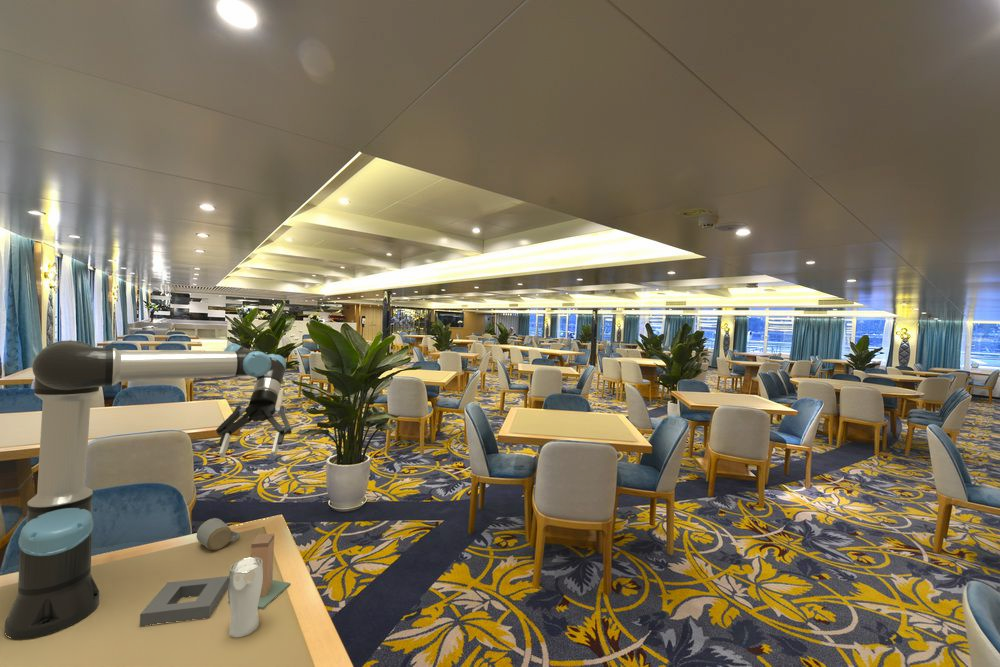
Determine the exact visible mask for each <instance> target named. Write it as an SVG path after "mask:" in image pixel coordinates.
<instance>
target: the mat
mask: <svg viewBox="0 0 1000 667" xmlns="http://www.w3.org/2000/svg"><path fill="white" fill-rule="evenodd" d="M290 586H291V582H287V581H280V580H275V579H272V586H271V588H270V590H269V592H268V594H267V596H266V597H260V599H259V603H258V610H264V609H266V608H267V607H268V606H269V605H270V604H271V603H272V602H273V601H274V600H275V599H274V598H275V597H276V596H278V595H279V594H280V593H281V594H282V593H283V592H284V591H286V590H287V589H288V588H289V587H290ZM285 589H286V590H285ZM281 594H280V595H281ZM280 595H279V596H280ZM279 596H278V597H279ZM273 599H274V600H273ZM272 600H273V601H272ZM271 601H272V602H271ZM270 602H271V603H270ZM269 603H270V604H269ZM228 604H229V601H228ZM268 604H269V605H268ZM267 605H268V606H267ZM266 606H267V607H266ZM265 607H266V608H265Z"/></svg>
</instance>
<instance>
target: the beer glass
mask: <svg viewBox="0 0 1000 667" xmlns="http://www.w3.org/2000/svg"><path fill="white" fill-rule="evenodd" d="M262 563H263V561H262V559H261V558H258V557H251V556H250V557H245V558H241V559H238V560H237V561H235V562H234V563H232V564H231V565H230V567H229V574H228V576H229V580H228V588H227V598H228V602H229V603H228V604H229V607H230V616H231V618H230V623H229V627H228V635H229V637H231V638H237V639H238V638H243V637H246V636H249V635H250V634H252V633H253V632H255V631H256V630H257V629H258V628H259V626H260V620H259V616H258V615H259V614H258V610H259V609H258V603H259V599H260V595H261V590H262V584H263V564H262Z"/></svg>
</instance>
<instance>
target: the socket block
mask: <svg viewBox="0 0 1000 667" xmlns="http://www.w3.org/2000/svg"><path fill="white" fill-rule="evenodd" d="M228 580H229V575H228V576H226V575H225V576H218V577H208V578H198V579H197V578H196V579H189V580H187V579H186V580H177V581H169V582H166V584H164V586H163V587H162V588H161V589H160V591H159V592H158V593H157V594H156V595H155V596H154V597H153V599H152V600H151V601H150V602H149V603H148V604H147V605H146V607H145V608H144V609H143V610H142V611H141V612H140V613H139V627H140V626H142V627H146V626H145V625H150V624H151V625H150V626H153V625H152V624H157V623H166V622H174V623H177V622H176V621H182V622H187V621H186V620H190V621H193V620H192V619H198V620H204V619H203V618H206V619H210V618H211V616H212V615H213V612H214V611H215V609H216V608H217V606H218V605H217V604H219V603H220V601H221V600H222V598H223V597H224V595H225V593H226V591H228ZM189 596H194V597H197V598H196V599H195V600H194V601H193V600H192V601H185V602H177V601H180V599H183V597H185V598H190V597H189ZM222 596H223V597H222ZM209 617H210V618H209ZM166 624H167V623H166Z"/></svg>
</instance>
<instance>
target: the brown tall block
mask: <svg viewBox="0 0 1000 667" xmlns="http://www.w3.org/2000/svg"><path fill="white" fill-rule="evenodd" d="M274 550H275V533H262V534H261V533H260V534H257V536H255V538H254V539H253V541H252V542H251V543H250V557H258V558H261V559H262V561H263V563H262V564H263V584H262V590H261V595H260V597H266V596H267V594H268V592H269V590H270V588H271V586H272V580H274V578H273V576H274V575H273V574H274V554H275V552H274Z"/></svg>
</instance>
